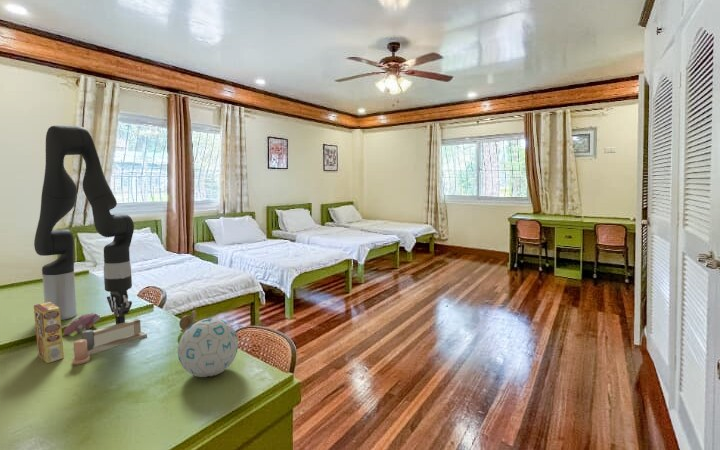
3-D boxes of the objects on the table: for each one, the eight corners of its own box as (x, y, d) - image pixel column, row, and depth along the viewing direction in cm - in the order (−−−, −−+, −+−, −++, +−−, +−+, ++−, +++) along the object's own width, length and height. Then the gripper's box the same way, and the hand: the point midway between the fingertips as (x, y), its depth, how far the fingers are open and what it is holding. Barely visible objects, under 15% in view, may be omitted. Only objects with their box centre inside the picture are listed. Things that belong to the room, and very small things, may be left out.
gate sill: (78, 352, 110) (77, 349, 110) (141, 333, 125) (141, 331, 125) (83, 356, 108) (83, 353, 108) (147, 336, 123) (146, 333, 123)
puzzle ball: (248, 364, 106) (248, 313, 104) (217, 392, 91) (215, 334, 90) (202, 357, 109) (201, 308, 108) (165, 383, 94) (162, 327, 93)
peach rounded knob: (70, 362, 105) (69, 341, 104) (86, 356, 108) (85, 337, 107) (75, 366, 102) (74, 345, 102) (92, 360, 106) (91, 340, 105)
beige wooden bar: (85, 350, 109) (83, 334, 108) (81, 348, 110) (80, 331, 110) (141, 333, 122) (140, 318, 122) (137, 331, 124) (136, 317, 123)
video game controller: (71, 340, 122) (78, 323, 121) (60, 333, 123) (67, 316, 122) (97, 329, 132) (104, 313, 131) (87, 323, 133) (94, 307, 131)
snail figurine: (203, 343, 118) (202, 307, 117) (187, 352, 112) (186, 314, 111) (189, 341, 120) (188, 305, 119) (173, 349, 114) (172, 311, 113)
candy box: (64, 358, 107) (61, 307, 105) (46, 364, 103) (42, 311, 102) (54, 350, 112) (51, 301, 110) (36, 355, 108) (32, 304, 107)
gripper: (96, 274, 121) (99, 325, 123) (114, 280, 114) (117, 334, 116) (121, 270, 127) (123, 318, 129) (139, 275, 120) (142, 327, 122)
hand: (120, 326), depth 122 cm, fingers closed
